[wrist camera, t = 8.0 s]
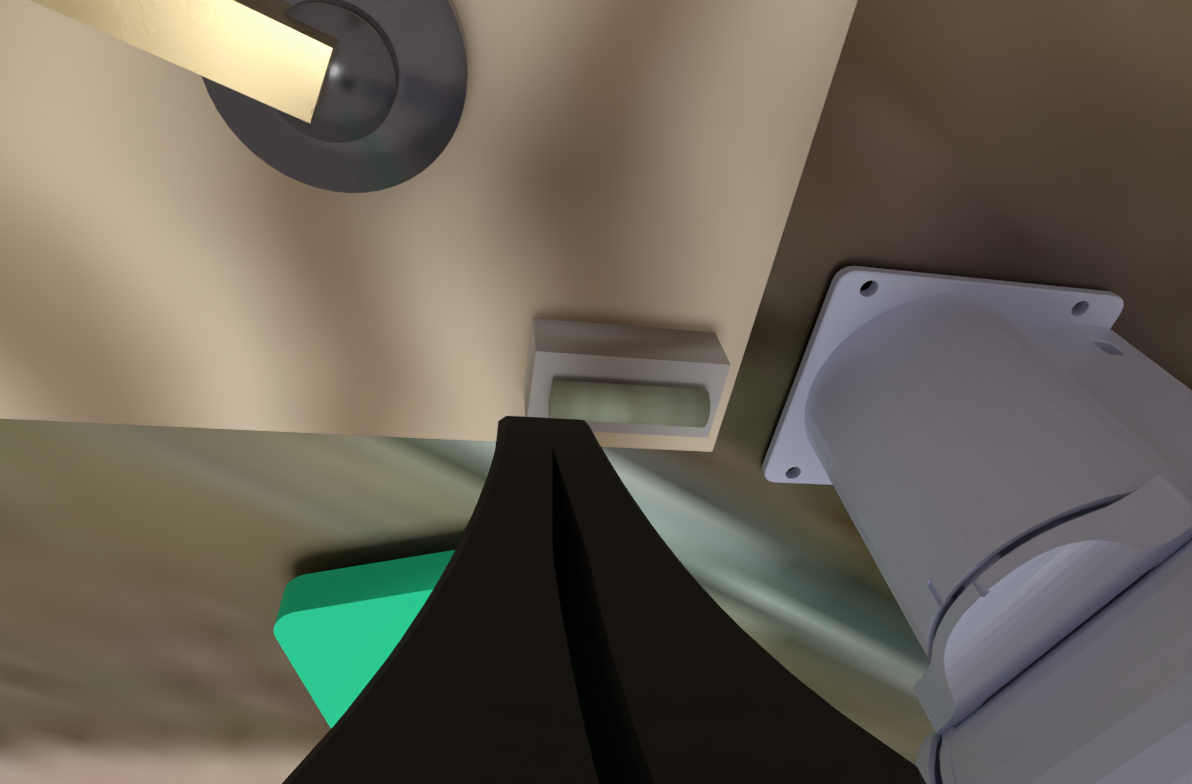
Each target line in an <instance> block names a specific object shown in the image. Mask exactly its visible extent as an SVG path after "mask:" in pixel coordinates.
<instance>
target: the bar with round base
mask: <svg viewBox="0 0 1192 784" xmlns="http://www.w3.org/2000/svg"><path fill="white" fill-rule="evenodd" d="M30 1H33V2H35V3H37V4H40V5H42V6H44V7H46V8H49V9H51V10H53V11H55V12H58V13H60V14H62V15H65V16H67V17H69V18H71V19H74V20H76V21H78V22H81V23H83V24H85V25H87V26H90V27H92V28H94V29H96V30H99V31H101V32H103V33H106V34H108V35H110V36H112V37H115V38H117V39H119V40H121V41H124V42H126V43H128V44H131V45H133V46H135V47H137V48H140V49H142V50H144V51H146V52H149V53H151V54H153V55H156V56H158V57H160V58H162V59H165V60H167V61H169V62H171V63H174V64H176V65H178V66H181V67H183V68H185V69H187V70H190V71H192V72H194V73H197V74H199V75H201V77H202V79H203V82H204V84H205V87H206V89H207V92H208V94H209V96H210V98H211V100H212V101H213V103H214V105H215V107H216V109H217V111H218V112H219V114H220V115H221V117H222V118H223V120H224V121H225V123H226V124H227V125H228V127H229V128H230V129H231V130H232V132H233V133H234V134H235V135H236V136H237V137H238V139H239V140H240V141H241V142H242V143H243V144H244V145H245V146H246V147H247V148H248V149H249V150H251V151H252V152H253V153H254V154H255V155H256V156H257V157H259V158H260V159H261V160H263V161H264V162H265V163H267V164H268V165H269V166H271V167H273V168H274V169H276V170H277V171H279V172H281V173H282V174H284V175H286V176H288V177H290V178H292V179H294V180H297V181H299V182H301V183H304V184H307V185H310V186H313V187H316V188H320V189H324V190H329V191H334V192H343V193H367V192H373V191H380V190H384V189H387V188H391V187H394V186H397V185H399V184H401V183H404V182H406V181H408V180H410V179H411V178H413V177H415V176H416V175H418V174H420V173H421V172H422V171H424V170H425V169H426V168H427V167H428V166H430V165H431V164H432V163H433V162H434V161H435V160H436V159H437V158H438V157H439V155H440V154H441V153H442V152H443V151H444V149H445V148H446V146H447V145H448V143H449V142H450V140H451V139H452V137H453V135H454V133H455V131H456V129H457V127H458V124H459V121H460V118H461V115H462V112H463V108H464V103H465V97H466V90H467V78H468V54H467V45H466V40H465V35H464V30H463V27H462V24H461V21H460V17H459V14H458V12H457V10H456V7H455V5H454V3H453V1H452V0H30Z"/></svg>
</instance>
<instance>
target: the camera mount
mask: <svg viewBox="0 0 1192 784" xmlns="http://www.w3.org/2000/svg"><path fill="white" fill-rule="evenodd" d="M454 551H455V550H451V551H445V552H439V553H433V554H426V555H420V556H414V557H408V558H402V559H396V560H390V561H383V562H377V563H371V564H365V565H359V566H353V567H347V568H340V569H334V570H328V571H322V572H316V573H310V574H304V575H301V576H298V577H296V578H294V579H292V580H291V581H290V582H289V583H288V584H287V585H286V587H285V590H284V594H283V597H282V601H281V604H280V608H279V612H278V615H277V619H276V622H275V626H274V635H275V637H276V639H277V640H278V642H279V644H280V645H281V647H282V649H283V650H284V652H285V654H286V655H287V657H288V659H289V660H290V662H291V663H292V665H293V667H294V668H295V670H296V672H297V673H298V675H299V677H300V678H301V680H302V682H303V683H304V685H305V687H306V688H307V690H308V691H309V693H310V695H311V696H312V698H313V700H314V701H315V703H316V705H317V706H318V708H319V710H320V711H321V713H322V714H323V716H324V718H325V719H326V721H327V723H328V724H329V726H330V728H332V727H333V726H334V725H335V724H336V723H337V721H338V720H339V719H340V718H341V717H342V715H343V714H344V713H345V712H346V711H347V709H348V708H349V707H350V705H351V704H352V703H353V702H354V700H355V699H356V698H357V697H358V695H359V694H360V693H361V691H362V690H363V689H364V688H365V686H366V685H367V684H368V682H369V681H370V680H371V679H372V677H373V676H374V675H375V673H376V672H377V671H378V670H379V668H380V667H381V666H382V665H383V663H384V662H385V661H386V659H387V658H388V657H389V655H390V654H391V652H392V651H393V650H394V648H395V647H396V645H397V644H398V643H399V641H400V640H401V638H402V637H403V635H404V634H405V632H406V631H407V629H408V628H409V626H410V625H411V623H412V622H413V620H414V619H415V617H416V616H417V614H418V613H419V611H420V610H421V608H422V607H423V605H424V604H425V602H426V600H427V599H428V597H429V595H430V594H431V592H432V590H433V589H434V587H435V585H436V584H437V582H438V580H439V579H440V577H441V575H442V573H443V572H444V570H445V568H446V566H447V564H448V563H449V561H450V559H451V557H452V555H453V553H454Z"/></svg>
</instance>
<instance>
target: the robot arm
mask: <svg viewBox="0 0 1192 784" xmlns="http://www.w3.org/2000/svg"><path fill="white" fill-rule="evenodd" d="M867 281H872V284H871V285H870V287H869V288H867V289H865V290H861V291H860V288H861V287H862V285H863V284H864V283H866V282H867ZM1077 303H1079V304H1078V305H1077V306H1076V307H1075V308H1073V307H1074V306H1075V305H1076V304H1077ZM1123 306H1124V301H1123V300H1122V298H1121V297H1119V296H1118V295H1116V294H1115V293H1113V292H1110V291H1101V290H1091V289H1081V288H1071V287H1061V286H1051V285H1041V284H1031V283H1021V282H1011V281H1001V280H991V279H981V278H971V277H961V276H951V275H941V274H931V273H921V272H911V271H901V270H891V269H881V268H871V267H861V266H847V267H845V268H843V269H841V270H840V271H839V272H838V273H836V274H835V276H834V278H833V279H832V282H831V284H830V287H829V290H828V292H827V295H826V298H825V300H824V303H823V306H822V308H821V311H820V314H819V316H818V319H817V322H816V324H815V327H814V329H813V332H812V335H811V337H810V340H809V343H808V345H807V348H806V351H805V353H804V356H803V359H802V361H801V364H800V367H799V369H798V372H797V375H796V377H795V380H794V383H793V385H792V388H791V390H790V393H789V396H788V398H787V401H786V404H785V406H784V409H783V412H782V414H781V417H780V420H779V422H778V425H777V428H776V430H775V433H774V436H773V438H772V441H771V443H770V446H769V449H768V451H767V454H766V457H765V459H764V462H763V465H762V471H763V473H764V475H765V477H766V479H767V480H769V481H770V482H778V483H803V484H829V485H833V486H834V488H835V490H836V492H837V493H838V495H839V497H840V499H841V501H842V502H843V504H844V506H845V508H846V510H847V512H848V513H849V515H850V517H851V519H852V521H853V522H854V524H855V526H856V528H857V530H858V532H859V533H860V535H861V537H862V539H863V541H864V542H865V544H866V546H867V548H868V550H869V552H870V553H871V555H872V557H873V559H874V561H875V562H876V564H877V566H878V568H879V570H880V572H881V573H882V575H883V577H884V579H885V581H886V582H887V584H888V586H889V588H890V590H891V592H892V593H893V595H894V597H895V599H896V601H897V602H898V604H899V606H900V608H901V610H902V612H903V613H904V615H905V617H906V619H907V621H908V622H909V624H910V626H911V628H912V630H913V632H914V633H915V635H916V637H917V639H918V641H919V642H920V644H921V646H922V648H923V650H924V652H925V653H926V655H927V657H928V659H929V661H930V662H931V663H930V665H929V668H928V669H927V671H926V672H925V674H924V675H923V676H922V677H921V678H920V679H919V680H918V681H917V682H916V683H915V684H914V686H913V689H914V691H915V693H916V695H917V697H918V699H919V700H920V702H921V704H922V706H923V708H924V710H925V712H926V714H927V716H928V718H929V720H930V722H931V724H932V726H933V728H934V731H933V732H932V733H930V734H929V735H928V736H927V737H926V738H925V740H924V741H923V743H922V745H921V746H920V748H919V750H918V753H917V757H916V761H915V765H914V764H913V763H911V762H910V761H908V760H907V759H905V758H904V757H903V756H901V755H900V754H898V753H897V752H895V751H894V750H893V749H891V748H890V747H888V746H887V745H885V744H884V743H883V742H881V741H880V740H878V739H877V738H876V737H874V736H873V735H871V734H870V733H868V732H867V731H866V730H864V729H863V728H861V727H860V726H858V725H857V724H856V723H854V722H853V721H851V720H850V719H848V718H847V717H846V716H844V715H843V714H842V713H840V712H839V711H838V710H836V709H835V708H834V707H833V706H831V705H830V704H829V703H828V702H826V701H825V700H824V699H823V698H821V697H820V696H819V695H818V694H816V693H815V692H814V691H812V690H811V689H810V688H809V687H807V686H806V685H805V684H804V683H802V682H801V681H800V680H799V679H797V678H796V677H795V676H794V675H793V674H792V673H790V672H789V671H788V670H787V669H786V668H785V667H783V666H782V665H781V664H780V663H779V662H778V661H777V660H776V659H775V658H773V657H772V656H771V655H770V654H769V653H768V652H767V651H766V650H765V649H764V648H762V647H761V646H760V645H759V644H758V643H757V642H756V641H755V640H754V639H753V638H751V637H750V636H749V635H748V634H747V633H746V632H745V631H744V630H743V629H742V628H740V627H739V626H738V625H737V624H736V622H735V621H734V620H733V619H732V618H731V617H730V616H729V615H728V614H727V613H726V612H725V611H724V610H723V609H722V608H721V607H720V606H719V605H718V604H717V603H716V602H715V601H714V600H713V599H712V598H711V596H710V595H709V594H708V593H707V592H706V591H705V590H704V589H703V588H702V587H701V586H700V584H699V583H698V582H697V581H696V580H695V579H694V578H693V576H692V575H691V574H690V573H689V572H688V571H687V569H686V568H685V567H684V566H683V565H682V563H681V562H680V561H679V560H678V558H677V557H676V556H675V555H674V553H673V552H672V551H671V550H670V548H669V547H668V546H667V544H666V543H665V542H664V541H663V539H662V538H661V537H660V535H659V534H658V533H657V531H656V530H655V529H654V527H653V526H652V525H651V523H650V522H649V521H648V519H647V518H646V516H645V515H644V513H643V512H642V510H641V509H640V507H639V506H638V505H637V503H636V502H635V500H634V499H633V497H632V496H631V494H630V493H629V492H628V490H627V488H626V487H625V485H624V484H623V482H622V481H621V479H620V478H619V476H618V474H617V473H616V471H615V469H614V468H613V466H612V465H611V463H610V461H609V460H608V458H607V456H606V455H605V453H604V451H603V449H602V448H601V446H600V444H599V442H598V441H597V439H596V437H595V435H594V433H593V431H592V430H591V428H590V426H589V425H588V424H587V422H586V421H585V420H579V419H560V418H541V417H523V416H505V417H504V418H502V419H501V420H499V421H498V429H497V438H496V448H495V453H494V457H493V460H492V464H491V467H490V470H489V473H488V476H487V479H486V481H485V484H484V487H483V489H482V492H481V495H480V497H479V500H478V502H477V505H476V507H475V510H474V512H473V514H472V516H471V518H470V520H469V523H468V525H467V527H466V529H465V531H464V533H463V535H462V537H461V539H460V541H459V543H458V545H457V547H456V549H455V551H454V553H453V555H452V557H451V559H450V561H449V563H448V564H447V566H446V568H445V570H444V572H443V573H442V575H441V577H440V579H439V580H438V582H437V584H436V585H435V587H434V589H433V590H432V592H431V594H430V595H429V597H428V599H427V600H426V602H425V604H424V605H423V607H422V608H421V610H420V611H419V613H418V614H417V616H416V617H415V619H414V620H413V622H412V623H411V625H410V626H409V628H408V629H407V631H406V632H405V634H404V635H403V637H402V638H401V640H400V641H399V643H398V644H397V645H396V647H395V648H394V650H393V651H392V652H391V654H390V655H389V657H388V658H387V659H386V661H385V662H384V663H383V665H382V666H381V667H380V668H379V670H378V671H377V672H376V673H375V675H374V676H373V677H372V679H371V680H370V681H369V682H368V684H367V685H366V686H365V688H364V689H363V690H362V691H361V693H360V694H359V695H358V697H357V698H356V699H355V700H354V702H353V703H352V704H351V705H350V707H349V708H348V709H347V711H346V712H345V713H344V714H343V715H342V717H341V718H340V719H339V720H338V721H337V723H336V724H335V725H334V726H333V727H332V728H331V730H330V731H329V732H328V733H327V734H326V735H325V736H324V737H323V738H322V740H321V741H320V742H319V743H318V744H317V745H316V746H315V747H314V748H313V750H312V751H311V752H310V753H309V754H308V755H307V756H306V757H305V759H304V760H303V761H302V762H301V763H300V764H299V765H298V766H297V767H296V769H295V770H294V771H293V772H292V773H291V774H290V775H289V776H288V777H287V779H286V780H285V781H284V782H283V783H282V784H1192V390H1191V389H1189V388H1188V387H1187V386H1185V385H1184V384H1183V383H1181V382H1180V381H1179V380H1177V379H1176V378H1175V377H1173V376H1172V375H1171V374H1169V373H1168V372H1167V371H1165V370H1164V369H1163V368H1161V367H1160V366H1159V365H1157V364H1156V363H1155V362H1153V361H1152V360H1151V359H1149V358H1148V357H1147V356H1146V355H1144V354H1143V353H1142V352H1140V351H1139V350H1138V349H1136V348H1135V347H1134V346H1132V345H1131V344H1130V343H1128V342H1127V341H1126V340H1124V339H1123V338H1122V337H1120V336H1119V335H1118V334H1116V333H1115V332H1114V331H1112V330H1111V327H1112V326H1113V324H1114V322H1115V321H1116V319H1117V318H1118V316H1119V315H1120V313H1121V311H1122V309H1123ZM1072 308H1073V309H1072ZM792 467H795V468H794V469H793V470H790V471H787V470H788V469H790V468H792Z"/></svg>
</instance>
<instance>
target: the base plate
mask: <svg viewBox="0 0 1192 784" xmlns="http://www.w3.org/2000/svg"><path fill="white" fill-rule="evenodd" d="M452 1H453V3H454V5H455V7H456V10H457V12H458V14H459V17H460V21H461V24H462V27H463V30H464V35H465V40H466V45H467V54H468V78H467V90H466V97H465V103H464V108H463V112H462V115H461V118H460V121H459V124H458V127H457V129H456V131H455V133H454V135H453V137H452V139H451V140H450V142H449V143H448V145H447V146H446V148H445V149H444V151H443V152H442V153H441V154H440V155H439V157H438V158H437V159H436V160H435V161H434V162H433V163H432V164H431V165H430V166H428V167H427V168H426V169H425V170H424V171H422V172H421V173H420V174H418V175H416V176H415V177H413V178H411V179H410V180H408V181H406V182H404V183H401V184H399V185H397V186H394V187H391V188H387V189H384V190H380V191H373V192H367V193H343V192H334V191H329V190H324V189H320V188H316V187H313V186H310V185H307V184H304V183H301V182H299V181H297V180H294V179H292V178H290V177H288V176H286V175H284V174H282V173H281V172H279V171H277V170H276V169H274V168H273V167H271V166H269V165H268V164H267V163H265V162H264V161H263V160H261V159H260V158H259V157H257V156H256V155H255V154H254V153H253V152H252V151H251V150H249V149H248V148H247V147H246V146H245V145H244V144H243V143H242V142H241V141H240V140H239V139H238V137H237V136H236V135H235V134H234V133H233V132H232V130H231V129H230V128H229V127H228V125H227V124H226V123H225V121H224V120H223V118H222V117H221V115H220V114H219V112H218V111H217V109H216V107H215V105H214V103H213V101H212V100H211V98H210V96H209V94H208V92H207V89H206V87H205V84H204V82H203V79H202V77H201V75H199V74H197V73H194V72H192V71H190V70H187V69H185V68H183V67H181V66H178V65H176V64H174V63H171V62H169V61H167V60H165V59H162V58H160V57H158V56H156V55H153V54H151V53H149V52H146V51H144V50H142V49H140V48H137V47H135V46H133V45H131V44H128V43H126V42H124V41H121V40H119V39H117V38H115V37H112V36H110V35H108V34H106V33H103V32H101V31H99V30H96V29H94V28H92V27H90V26H87V25H85V24H83V23H81V22H78V21H76V20H74V19H71V18H69V17H67V16H65V15H62V14H60V13H58V12H55V11H53V10H51V9H49V8H46V7H44V6H42V5H40V4H37V3H35V2H33V1H30V0H0V418H3V419H24V420H45V421H67V422H88V423H110V424H131V425H152V426H174V427H195V428H216V429H238V430H259V431H281V432H302V433H323V434H345V435H366V436H387V437H409V438H430V439H452V440H473V441H494V442H496V438H497V429H498V421H499V420H501V419H502V418H504V417H505V416H523V417H541V418H560V419H579V420H585V421H586V422H587V424H588V425H589V426H590V428H591V430H592V431H593V433H594V435H595V437H596V439H597V441H598V442H599V444H600V446H601V447H623V448H644V449H665V450H687V451H708V452H712V451H713V448H714V445H715V442H716V439H717V435H718V432H719V429H720V426H721V423H722V420H723V417H724V414H725V411H726V407H727V404H728V401H729V398H730V395H731V392H732V389H733V386H734V383H735V380H736V376H737V373H738V370H739V367H740V364H741V361H742V358H743V355H744V352H745V348H746V345H747V342H748V339H749V336H750V333H751V330H752V327H753V324H754V320H755V317H756V314H757V311H758V308H759V305H760V302H761V299H762V296H763V293H764V289H765V286H766V283H767V280H768V277H769V274H770V271H771V268H772V265H773V261H774V258H775V255H776V252H777V249H778V246H779V243H780V240H781V237H782V233H783V230H784V227H785V224H786V221H787V218H788V215H789V212H790V209H791V206H792V202H793V199H794V196H795V193H796V190H797V187H798V184H799V181H800V178H801V174H802V171H803V168H804V165H805V162H806V159H807V156H808V153H809V150H810V146H811V143H812V140H813V137H814V134H815V131H816V128H817V125H818V122H819V119H820V115H821V112H822V109H823V106H824V103H825V100H826V97H827V94H828V91H829V87H830V84H831V81H832V78H833V75H834V72H835V69H836V66H837V63H838V59H839V56H840V53H841V50H842V47H843V44H844V41H845V38H846V35H847V32H848V28H849V25H850V22H851V19H852V16H853V13H854V10H855V7H856V4H857V0H452Z"/></svg>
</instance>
